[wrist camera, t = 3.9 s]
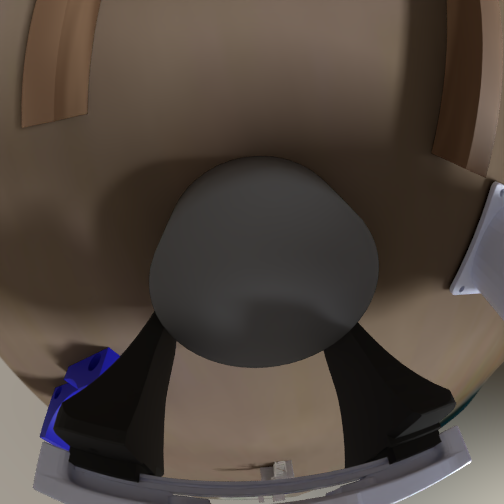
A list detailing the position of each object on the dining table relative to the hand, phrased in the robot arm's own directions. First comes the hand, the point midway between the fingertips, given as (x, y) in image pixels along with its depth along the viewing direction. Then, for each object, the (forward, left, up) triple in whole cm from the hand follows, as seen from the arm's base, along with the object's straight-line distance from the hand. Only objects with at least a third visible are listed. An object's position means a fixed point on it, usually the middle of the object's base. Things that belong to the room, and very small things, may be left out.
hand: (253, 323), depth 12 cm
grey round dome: (0, -3, -2) cm, 3 cm away
